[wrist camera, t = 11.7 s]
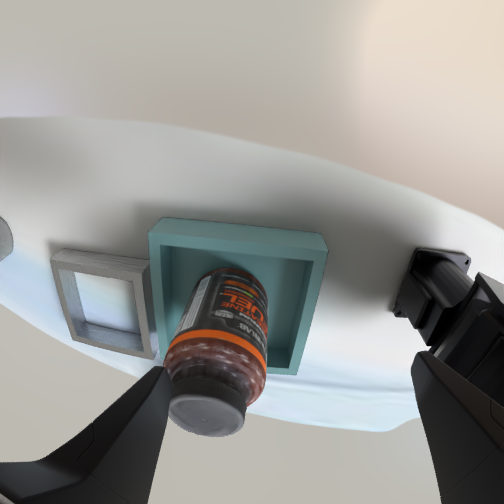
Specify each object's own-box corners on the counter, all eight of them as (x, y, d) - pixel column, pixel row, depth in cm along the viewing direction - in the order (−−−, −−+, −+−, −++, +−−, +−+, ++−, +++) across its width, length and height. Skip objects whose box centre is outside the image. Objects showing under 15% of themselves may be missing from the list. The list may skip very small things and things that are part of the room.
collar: (151, 260, 23) (141, 273, 21) (160, 344, 26) (153, 360, 24) (63, 248, 23) (49, 259, 21) (82, 327, 27) (72, 340, 25)
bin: (320, 233, 21) (328, 251, 18) (294, 351, 26) (296, 375, 23) (162, 217, 21) (147, 232, 18) (169, 336, 26) (160, 358, 23)
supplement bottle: (283, 289, 22) (291, 415, 12) (243, 337, 25) (229, 455, 14) (215, 249, 21) (172, 366, 11) (181, 304, 23) (134, 417, 13)
